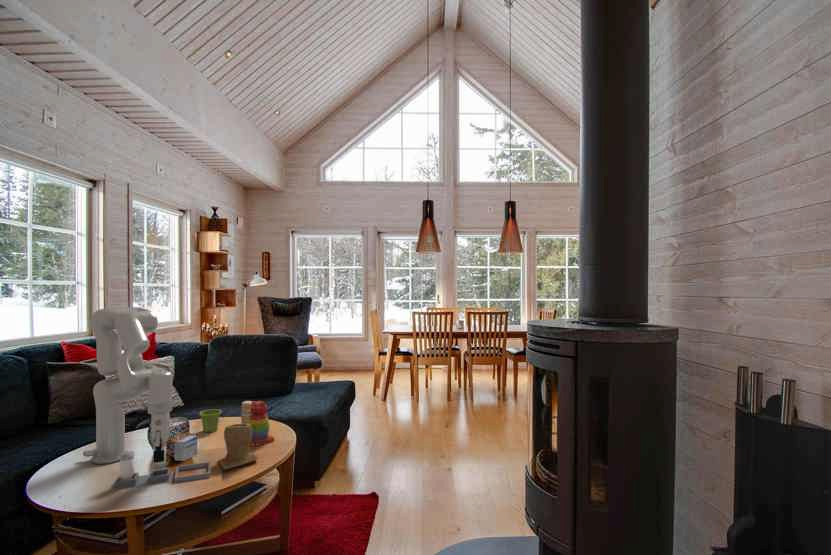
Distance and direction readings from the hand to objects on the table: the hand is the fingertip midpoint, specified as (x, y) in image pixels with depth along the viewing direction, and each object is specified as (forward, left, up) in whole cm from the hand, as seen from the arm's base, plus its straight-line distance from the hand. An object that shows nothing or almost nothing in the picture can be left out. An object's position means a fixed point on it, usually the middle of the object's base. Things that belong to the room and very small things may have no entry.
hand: (159, 458), depth 166 cm
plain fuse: (-10, 0, -7) cm, 12 cm away
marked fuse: (0, 0, -3) cm, 3 cm away
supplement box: (+33, +50, -8) cm, 60 cm away
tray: (+11, 0, -8) cm, 13 cm away
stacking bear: (+35, +31, -8) cm, 47 cm away
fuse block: (-5, 0, -8) cm, 10 cm away
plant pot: (+15, +56, -8) cm, 58 cm away
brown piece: (+25, +8, -8) cm, 28 cm away
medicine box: (+7, +19, -8) cm, 22 cm away
